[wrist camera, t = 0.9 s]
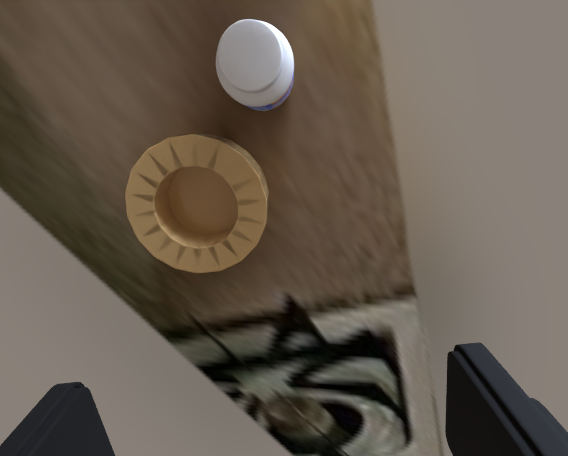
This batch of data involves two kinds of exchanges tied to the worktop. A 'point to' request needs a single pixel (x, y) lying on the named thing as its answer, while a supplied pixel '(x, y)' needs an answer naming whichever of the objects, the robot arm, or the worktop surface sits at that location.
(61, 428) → the robot arm
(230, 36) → the pill bottle
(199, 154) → the tape roll
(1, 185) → the worktop surface
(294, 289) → the worktop surface
